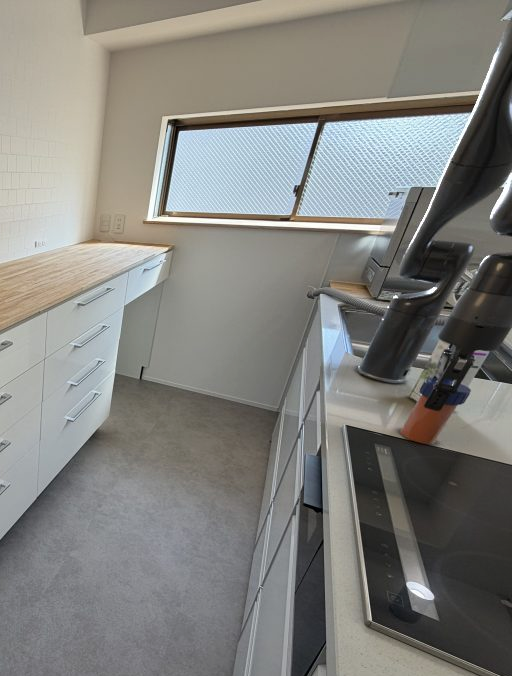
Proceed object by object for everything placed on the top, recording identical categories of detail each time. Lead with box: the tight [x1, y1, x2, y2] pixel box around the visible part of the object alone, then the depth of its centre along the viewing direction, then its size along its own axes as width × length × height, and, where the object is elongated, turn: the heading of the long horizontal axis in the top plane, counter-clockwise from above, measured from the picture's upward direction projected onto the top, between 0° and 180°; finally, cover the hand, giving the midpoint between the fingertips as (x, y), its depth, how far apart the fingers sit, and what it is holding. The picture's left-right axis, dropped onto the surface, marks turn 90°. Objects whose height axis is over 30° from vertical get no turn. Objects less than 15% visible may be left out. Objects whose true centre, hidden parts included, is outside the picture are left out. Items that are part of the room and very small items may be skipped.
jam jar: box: [399, 394, 459, 445], centre depth 78 cm, size 5×5×11 cm
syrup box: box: [408, 339, 491, 403], centre depth 89 cm, size 6×6×14 cm
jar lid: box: [419, 378, 472, 406], centre depth 75 cm, size 6×6×3 cm
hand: (431, 401), depth 77 cm, fingers open, 8 cm apart
